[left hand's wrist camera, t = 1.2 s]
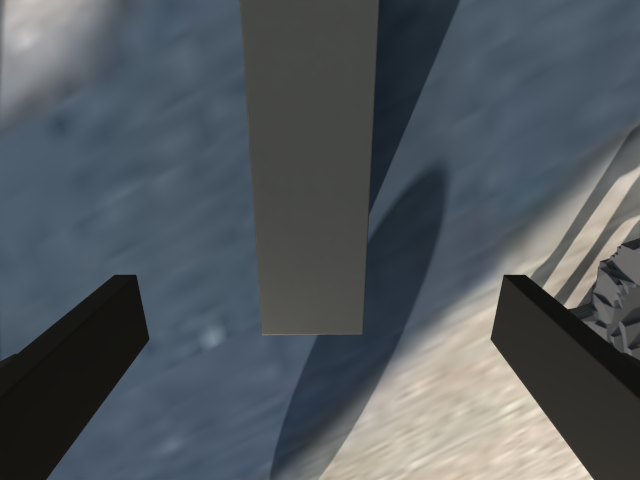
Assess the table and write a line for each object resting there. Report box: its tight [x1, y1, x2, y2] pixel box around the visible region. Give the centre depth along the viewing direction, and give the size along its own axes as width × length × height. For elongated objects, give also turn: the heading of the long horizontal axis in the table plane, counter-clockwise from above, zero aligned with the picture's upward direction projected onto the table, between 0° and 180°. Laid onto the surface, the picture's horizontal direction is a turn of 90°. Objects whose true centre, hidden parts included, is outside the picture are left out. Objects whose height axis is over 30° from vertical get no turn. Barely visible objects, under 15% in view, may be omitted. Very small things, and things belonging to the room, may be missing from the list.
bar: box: [240, 0, 380, 335], centre depth 19 cm, size 23×5×9 cm, turn 0°
